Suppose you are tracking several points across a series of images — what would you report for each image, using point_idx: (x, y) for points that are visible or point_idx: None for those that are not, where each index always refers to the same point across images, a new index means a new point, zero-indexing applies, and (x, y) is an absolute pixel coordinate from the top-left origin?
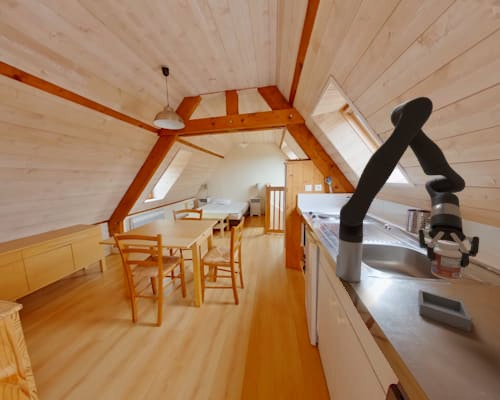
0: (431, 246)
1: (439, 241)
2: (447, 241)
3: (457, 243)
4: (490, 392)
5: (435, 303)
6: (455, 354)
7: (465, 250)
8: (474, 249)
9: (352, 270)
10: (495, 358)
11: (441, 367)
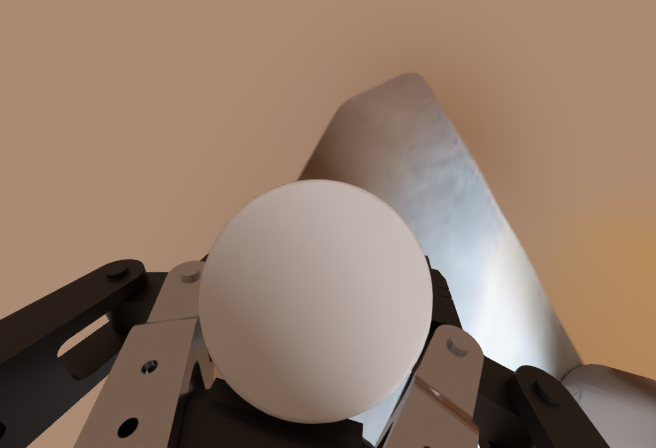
0: (445, 336)
1: (417, 282)
2: (302, 340)
3: (216, 271)
4: (344, 103)
5: None
6: (359, 153)
7: (182, 285)
8: (97, 290)
9: (645, 385)
10: (300, 174)
11: (390, 115)
